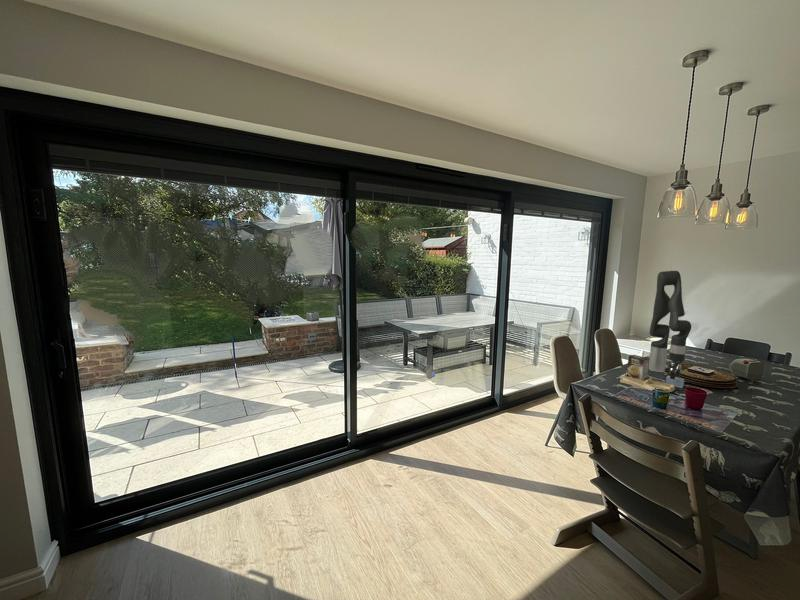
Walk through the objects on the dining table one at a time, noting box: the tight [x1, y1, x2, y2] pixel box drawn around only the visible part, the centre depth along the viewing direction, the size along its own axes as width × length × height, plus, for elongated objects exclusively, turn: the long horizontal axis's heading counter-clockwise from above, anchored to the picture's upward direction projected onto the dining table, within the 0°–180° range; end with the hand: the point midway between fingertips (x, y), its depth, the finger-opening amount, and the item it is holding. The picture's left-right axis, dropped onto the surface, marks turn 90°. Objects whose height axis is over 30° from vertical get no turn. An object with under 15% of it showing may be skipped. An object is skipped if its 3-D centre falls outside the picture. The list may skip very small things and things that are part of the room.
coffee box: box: [626, 354, 650, 381], centre depth 209 cm, size 9×6×16 cm
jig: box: [619, 372, 676, 393], centre depth 205 cm, size 13×25×4 cm, turn 36°
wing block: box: [665, 375, 685, 389], centre depth 205 cm, size 4×8×5 cm, turn 40°
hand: (674, 377), depth 205 cm, fingers open, 8 cm apart
